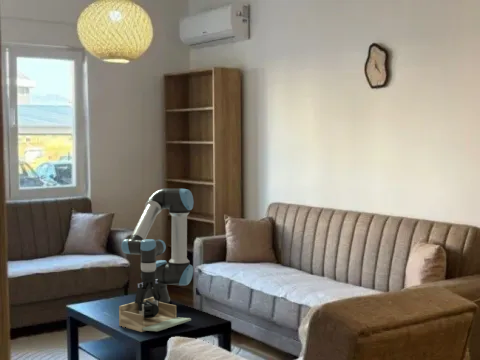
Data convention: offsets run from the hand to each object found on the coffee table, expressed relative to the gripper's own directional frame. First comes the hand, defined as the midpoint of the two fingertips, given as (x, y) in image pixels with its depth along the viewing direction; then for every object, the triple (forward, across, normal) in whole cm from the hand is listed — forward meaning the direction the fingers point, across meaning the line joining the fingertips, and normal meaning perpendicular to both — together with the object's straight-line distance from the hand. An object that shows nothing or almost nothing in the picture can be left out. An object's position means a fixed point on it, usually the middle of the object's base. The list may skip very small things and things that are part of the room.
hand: (148, 314), depth 329 cm
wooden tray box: (+5, 0, 0) cm, 5 cm away
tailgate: (+3, 0, +8) cm, 8 cm away
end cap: (+1, 0, 0) cm, 1 cm away
